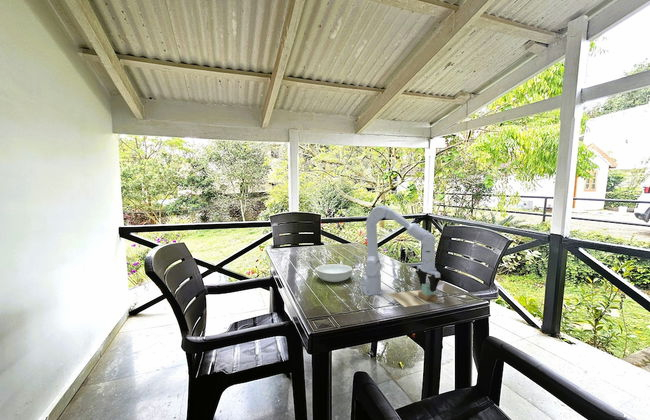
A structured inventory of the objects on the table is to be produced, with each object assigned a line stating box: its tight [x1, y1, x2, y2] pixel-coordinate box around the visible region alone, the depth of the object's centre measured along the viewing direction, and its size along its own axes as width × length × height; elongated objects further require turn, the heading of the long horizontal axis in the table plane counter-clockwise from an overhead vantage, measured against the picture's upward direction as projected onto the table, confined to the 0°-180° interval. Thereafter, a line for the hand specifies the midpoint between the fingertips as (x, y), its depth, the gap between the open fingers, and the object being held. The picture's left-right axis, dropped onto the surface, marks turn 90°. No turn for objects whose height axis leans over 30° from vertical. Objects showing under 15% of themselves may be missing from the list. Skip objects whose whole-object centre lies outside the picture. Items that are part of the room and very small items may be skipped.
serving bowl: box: [315, 263, 353, 283], centre depth 158 cm, size 21×21×7 cm
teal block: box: [421, 282, 435, 295], centre depth 127 cm, size 4×4×4 cm
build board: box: [387, 289, 445, 308], centre depth 128 cm, size 20×16×1 cm
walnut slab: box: [418, 292, 439, 302], centre depth 127 cm, size 6×6×2 cm
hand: (427, 288), depth 127 cm, fingers open, 7 cm apart
